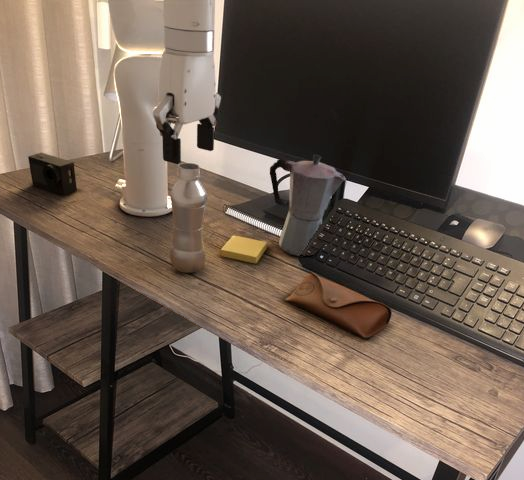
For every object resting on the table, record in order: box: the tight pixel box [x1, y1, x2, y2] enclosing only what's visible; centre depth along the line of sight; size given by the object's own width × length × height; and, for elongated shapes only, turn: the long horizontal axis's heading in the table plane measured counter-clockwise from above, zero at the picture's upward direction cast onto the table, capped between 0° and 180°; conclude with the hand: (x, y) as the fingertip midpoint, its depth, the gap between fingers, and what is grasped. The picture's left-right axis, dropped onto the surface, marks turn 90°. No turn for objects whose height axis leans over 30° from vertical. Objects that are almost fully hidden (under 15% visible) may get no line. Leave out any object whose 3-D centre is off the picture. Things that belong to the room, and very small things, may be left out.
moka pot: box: [269, 154, 347, 257], centre depth 113 cm, size 10×15×20 cm, turn 78°
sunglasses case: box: [284, 271, 392, 339], centre depth 99 cm, size 18×7×7 cm, turn 52°
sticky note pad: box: [220, 235, 268, 265], centre depth 115 cm, size 8×8×2 cm
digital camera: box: [27, 152, 78, 196], centre depth 132 cm, size 10×5×7 cm, turn 61°
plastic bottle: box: [169, 162, 208, 274], centre depth 102 cm, size 6×7×20 cm
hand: (189, 155), depth 94 cm, fingers open, 9 cm apart
